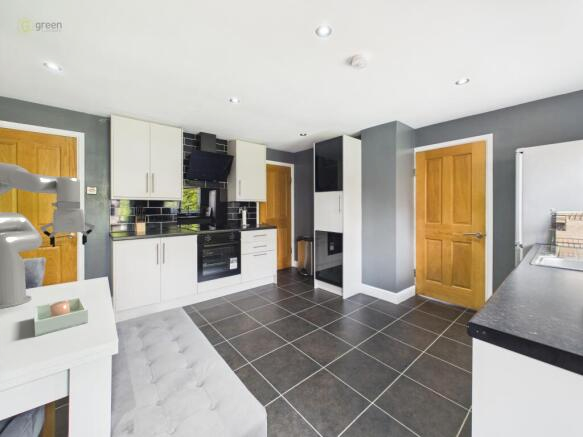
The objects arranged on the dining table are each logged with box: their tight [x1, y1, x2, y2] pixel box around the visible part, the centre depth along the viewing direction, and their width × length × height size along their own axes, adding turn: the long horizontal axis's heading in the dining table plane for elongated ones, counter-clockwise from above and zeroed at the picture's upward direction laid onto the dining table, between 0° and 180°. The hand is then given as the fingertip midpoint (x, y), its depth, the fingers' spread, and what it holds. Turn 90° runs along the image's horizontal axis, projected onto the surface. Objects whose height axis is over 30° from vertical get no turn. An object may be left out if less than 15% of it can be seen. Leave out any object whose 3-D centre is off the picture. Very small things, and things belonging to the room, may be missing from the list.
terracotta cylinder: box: [50, 301, 70, 317], centre depth 89 cm, size 5×5×7 cm
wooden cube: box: [50, 299, 69, 306], centre depth 94 cm, size 5×5×5 cm
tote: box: [33, 297, 89, 338], centre depth 92 cm, size 18×14×5 cm
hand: (69, 245), depth 105 cm, fingers open, 9 cm apart
